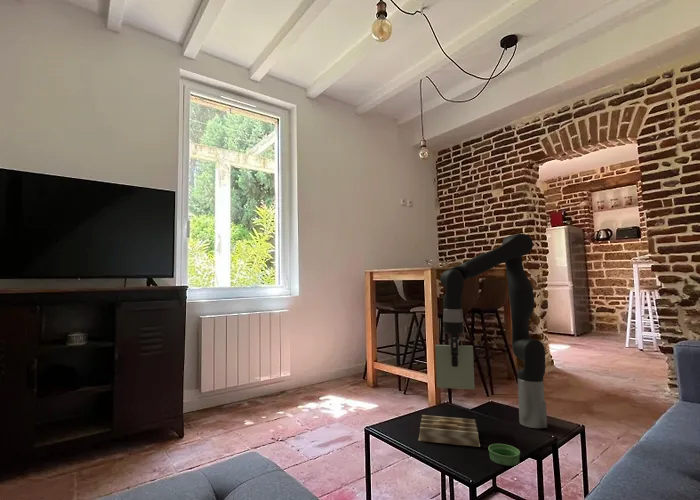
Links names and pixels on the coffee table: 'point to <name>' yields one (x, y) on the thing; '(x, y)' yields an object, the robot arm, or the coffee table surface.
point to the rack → (449, 432)
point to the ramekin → (506, 450)
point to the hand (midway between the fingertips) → (454, 365)
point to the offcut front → (445, 426)
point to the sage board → (455, 368)
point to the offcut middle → (451, 422)
